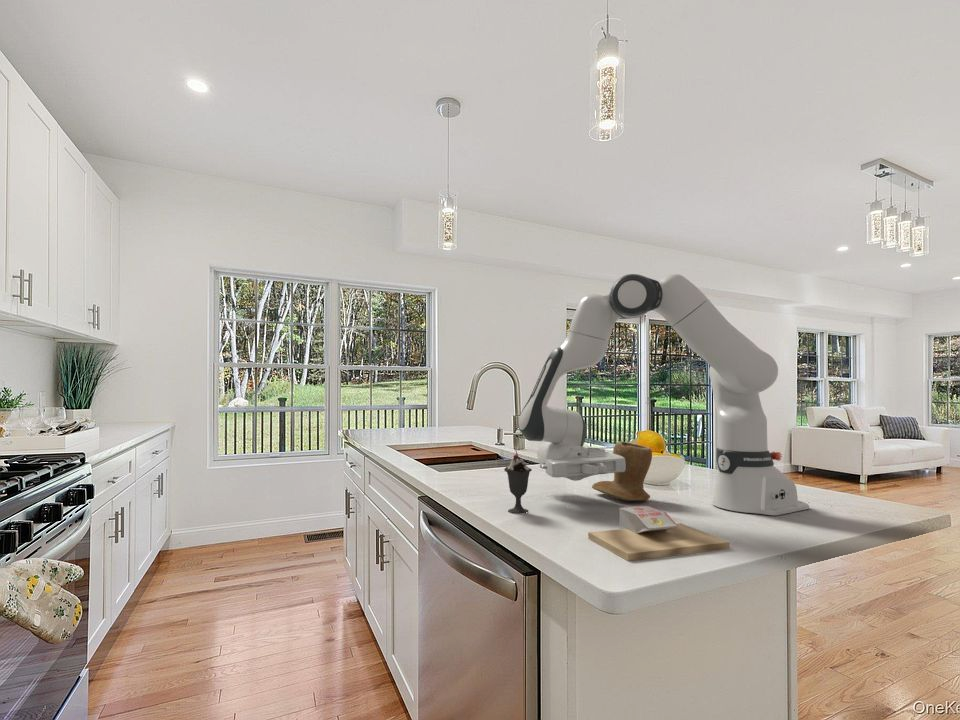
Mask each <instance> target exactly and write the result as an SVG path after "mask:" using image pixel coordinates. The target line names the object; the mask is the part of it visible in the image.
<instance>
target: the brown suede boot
mask: <svg viewBox="0 0 960 720" xmlns="http://www.w3.org/2000/svg"><path fill="white" fill-rule="evenodd" d="M612 453H614V454H617V455H620V456H623V457H624V458H625V461H626V469H625V472H619V473H613V474H614V477H613V480H612V481H611V480H603V481H602V480H601V481H597V482H595V483H593V484H592V486H591V489H593V490H595V491H598V492H599V493H601V494H604V495H607V496H610V497H613V498H615V499H618V500H624V501H627V502H628V501H629V502H630V501H631V502H638V501H639V502H640V501H647V500H649V499H650V498H651V495H650V494H649V493H648V492H646V490H645V489H644V482H645V479H646V477H647V474H648V471H649V469H650V467H651V463H652V459H653V452H652V448H651V447H649V446H645V445H641V444H640V445H639V444H634V443H631V442H627V441H622V440H621V441H620V440H619V441H617V442H616V443H615V444H614V446H613V450H612Z"/></svg>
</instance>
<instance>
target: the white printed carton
mask: <svg viewBox="0 0 960 720" xmlns="http://www.w3.org/2000/svg"><path fill="white" fill-rule="evenodd" d="M618 509H619V526H620V527H621V528H622V529H628V530H630V531H632V532H634V533H636V534H638V533H648V532H658V531H666V530H669V529H672V528H679V527H676V526H679V525H677V524H678V523H676V522H675V521H674V520H673V519H672V518H671V517H670V515H668V513H667V512H666V511H663V510H661V509H658V508H655V507H652V506H650V505H638V506H627V507H625V506H624V507H619V508H618Z"/></svg>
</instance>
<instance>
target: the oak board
mask: <svg viewBox="0 0 960 720" xmlns="http://www.w3.org/2000/svg"><path fill="white" fill-rule="evenodd" d="M676 524H677V525H679V526H676V527H679V528H672V529H669V530H666V531H658V532H648V533H638V534H636V533H634V532H632V531H630V530H628V529H625V528H620V529H608V530H599V531H598V530H597V531H590V532H588V533H587V534H588V537H587V538H588V539H589V540H590V541H592V542H594V543H595V544H597V545H599V546H601V547H603V549H607V550H608V551H610V552H611V553H612V554H615V555H617V556H618V557H620V558H622V559H624V560H626V561H628V562H630V560H631V561H637V560H646V559H655V558H662V557H663V558H664V557H671V556H679V555H687V554H688V555H689V554H695V553H704V552H712V551H721V550H720V549H722V550H728V549H727V548H730V549H731V542H730V541H729V540H725V538H724V539H723V538H721V537H718V536H716V535H713V534H710V533H708V532H705V531H702V530H700V529H698V528H694V527H692V526H689V525H687V524H685V523H684V524H683V523H682V522H680V523H679V522H678V523H676Z"/></svg>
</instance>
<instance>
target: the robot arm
mask: <svg viewBox="0 0 960 720" xmlns="http://www.w3.org/2000/svg"><path fill="white" fill-rule="evenodd" d="M651 311H653V312H655V313H658V314H659V315H660V316H662V317H663V318H664V319H665V320H666V322H667V324H669V325H670V327H671V328H672V329H673V330H674V331H675V333H676V334H677V335H678V336H679V338H680V339H682V341H683V342H684V343H685V345H687V347H688V348H689V349H690V350H691V351H692V352H693V353H695V354H696V355H698V357H700V358H701V359H702V360H704V361H705V363H707V364H708V365H709V369H708V375H709V378H710V379H709V380H710V382H711V387H712V394H713V395H712V396H713V400H714V405H715V411H716V418H717V419H716V420H717V448H716V451H715V452H716V453H715V454H716V455H715V458H716V459H715V460H716V464H717V472H716V482H715V488H714V494H713V499H712V502H711V504H712V505H713V506H715V507H717V508H719V509H724V510H729V511H733V512H739V513H750V514H761V515H765V516H767V515H768V516H781V515H785V514H790V513H795V512H801V511H804V510H809V509H810V505H809V503H806V502H805V501H801V500H798V499H799V498H798V490H797V486H796V484H795V482H794V481H793V480H791V479H790V478H789V477H788V476H787V475H786V474H784V473H783V472H782V471H780V470H779V469H778V468H777V467H776V466H775V463H774V460H776V461H781V460H782V458H783V456H782V455H783V454H782V453H781V452H780V451H779V452H778V451H772V452H770V451H769V449H768V419H767V415H765V412H764V410H763V406H762V402H761V399H760V393H762V392H764V391H766V390H767V389H769V388H770V387H771V386H773V385H774V384H775V382H776V381H777V378H778V375H779V367H778V364H777V362H776V360H775V358H773V356H772V355H770V354H769V353H768V352H766V351H764V350H762V349H761V348H760V347H758V346H757V345H756V344H755V343H754V342H753V341H752V340H751V339H749V338H748V337H747V336H746V335H745V334H743V333H742V332H741V331H739V330H738V328H736V327H735V326H733V324H731V322H729V321H728V320H727V318H726V317H724V315H723V314H722V313H721V312H720V311H719V309H718V308H717V307H716V306H715V305H714V304H713V303H712V302H711V300H710V299H709V298H708V297H707V296H706V295H705V294H704V293H703V292H702V291H701V290H700V289H699V288H698V287H697V286H696V285H695V284H694V283H692V282H691V281H690V280H689V279H687V277H685V276H683V275H682V274H679V273H671V274H668V275H667V276H664V277H662V278H661V279H660V280H656V279H653V278H650V277H648V276H644V275H642V274H636V273H630V274H625V275H623V276H621V277H619V278H618V279H616V280H615V282H614V283H613V284H612V287H611V288H610V292H608V293H607V294H606V295H605V294H603V295H602V294H593V293H592V294H587V295H586V296H583V297H582V298H581V299H580V301H579V303H578V305H577V307H576V309H575V311H574V314H573V317H572V319H571V322H570V325H569V329H568V332H567V335H566V338H565V340H564V341H563V342H562V344H561V345H560V346H559V347H557V348H554V349H552V350H551V352H550V354H549V355H548V357H547V358H546V360H545V363H544V364H543V367H542V368H541V372H540V373H539V376H538V378H537V379H536V383H535V384H534V387H533V389H532V390H531V391H532V392H531V394H530V396H529V398H528V400H527V402H526V403H525V405H524V406H523V408H522V410H521V412H520V414H519V417H518V429H519V431H520V433H521V434H522V436H523V437H524V438H525V439H526V440H527V441H530V442H542V444H540V445H539V447H538V448H537V450H536V458H537V461H538V463H539V468H540V469H543V470H545V474H546V475H548V476H549V477H551V478H556V479H557V478H564V479H568V480H570V481H574V482H575V481H576V482H577V481H581V480H583V479H586V478H589V477H592V476H597V475H607V474H614V473H619V472H625V469H626V461H625V458H624V457H623V456H620V455H617V454H614V453H613V452H609V451H605V449H604V448H599V447H585V446H584V444H585V442H586V439H587V424H586V421H585V419H584V417H583V415H582V414H581V413H580V412H579V411H577V410H571V409H566V408H558V407H553V406H549V405H548V403H549V401H550V399H551V396H552V394H553V392H554V389H555V387H556V385H557V383H558V381H559V380H560V378H561V377H563V376H564V375H565V374H568V373H571V372H575V371H578V370H585V369H589V368H591V367H593V366H595V365H597V364H598V363H600V362H601V361H602V360H603V358H605V356H606V353H607V350H608V346H609V343H610V339H611V336H612V335H611V334H612V332H613V329H614V326H615V324H616V323H617V322H618V321H619V320H624V319H625V320H627V319H629V320H630V319H638V318H640V317H643V316H645V315H646V314H647V313H649V312H651Z"/></svg>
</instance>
